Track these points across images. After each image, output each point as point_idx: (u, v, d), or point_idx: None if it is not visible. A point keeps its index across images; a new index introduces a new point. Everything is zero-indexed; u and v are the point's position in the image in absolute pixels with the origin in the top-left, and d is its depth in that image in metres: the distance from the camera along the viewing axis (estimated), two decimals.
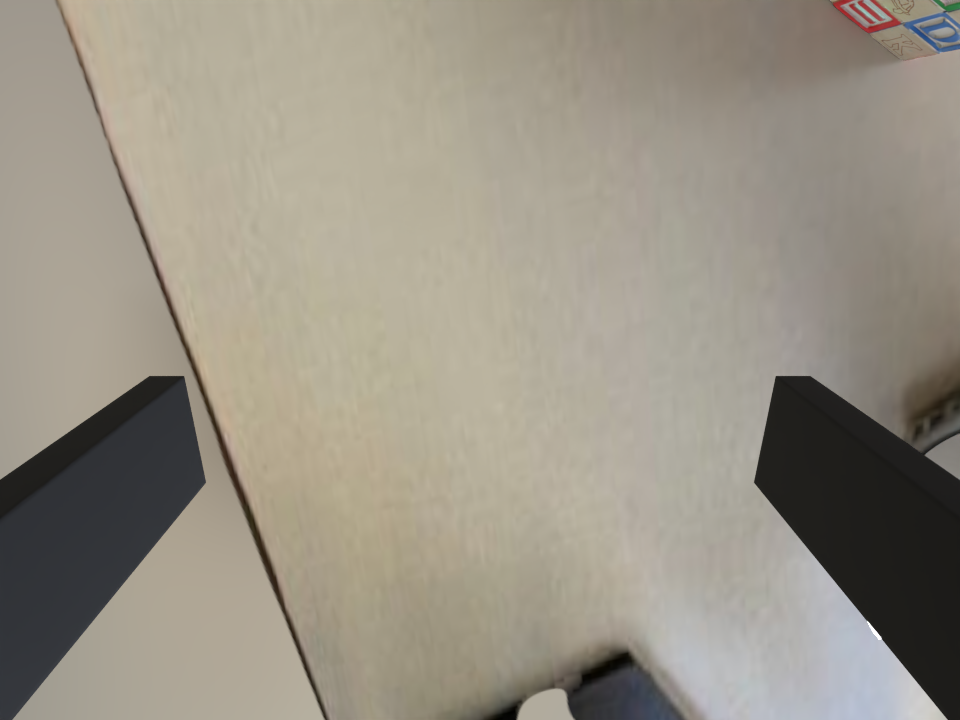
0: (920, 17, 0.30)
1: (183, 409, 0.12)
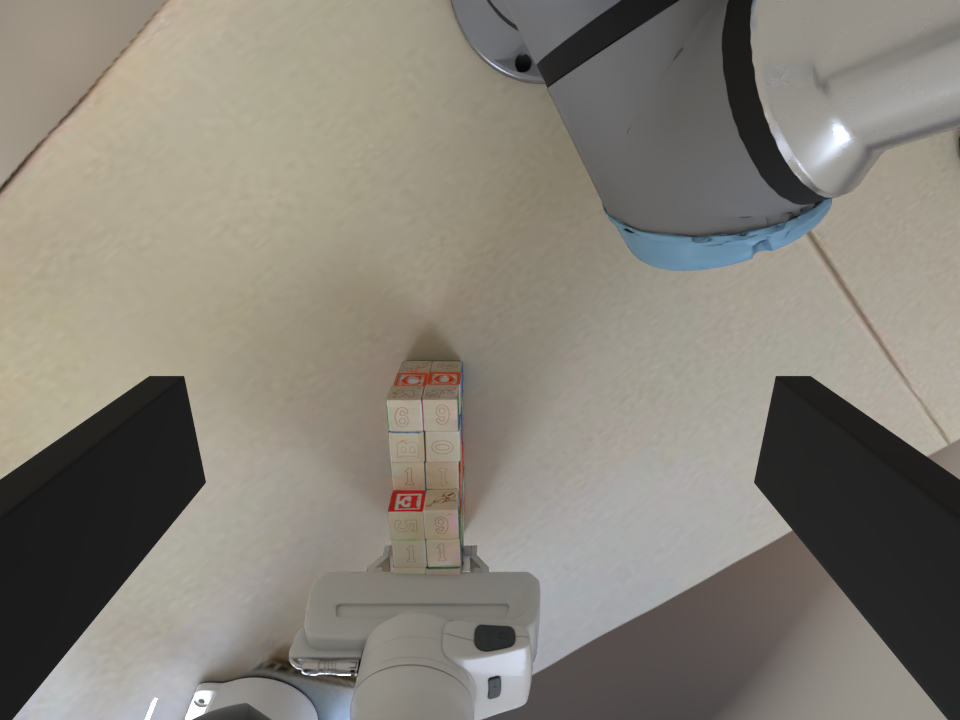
0: None
1: (183, 410, 0.12)
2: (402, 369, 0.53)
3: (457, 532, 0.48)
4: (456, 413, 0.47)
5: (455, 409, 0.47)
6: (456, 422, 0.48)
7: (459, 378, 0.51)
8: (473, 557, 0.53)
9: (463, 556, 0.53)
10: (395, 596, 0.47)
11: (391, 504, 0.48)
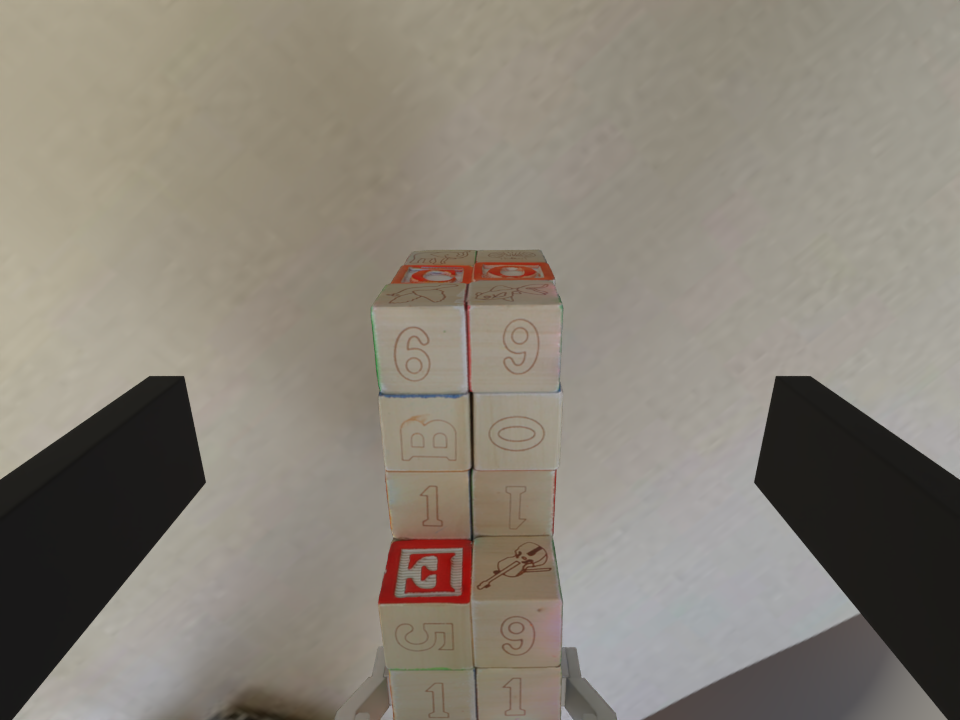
0: None
1: (183, 409, 0.12)
2: (412, 261, 0.24)
3: (557, 652, 0.19)
4: (558, 343, 0.18)
5: (556, 332, 0.18)
6: (556, 368, 0.18)
7: (548, 270, 0.21)
8: (574, 682, 0.24)
9: None
10: None
11: (387, 580, 0.19)
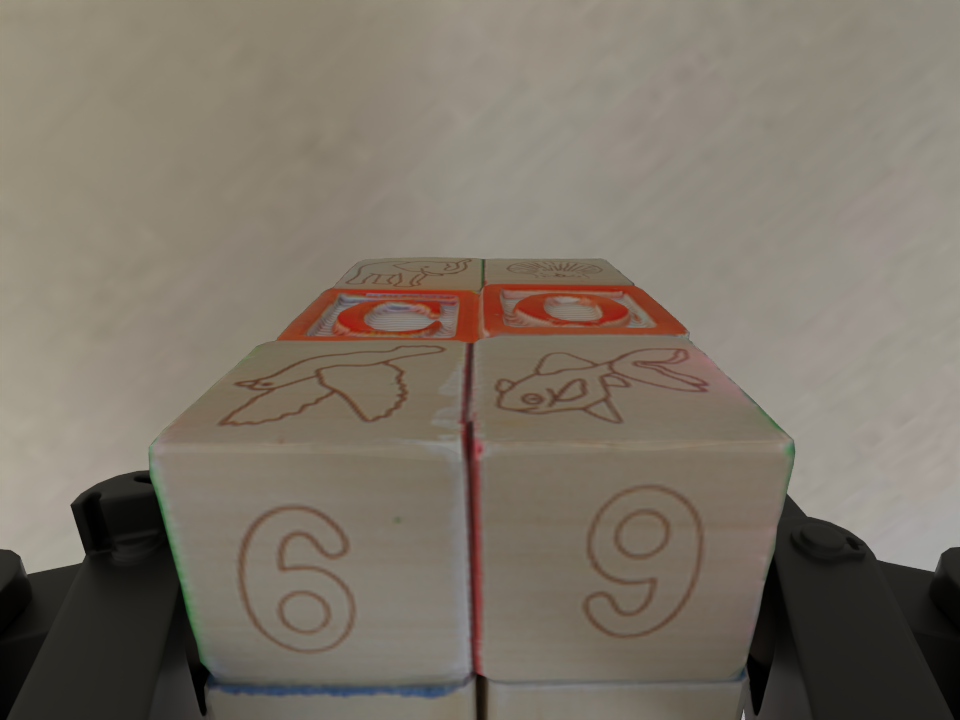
0: None
1: None
2: (353, 279, 0.12)
3: None
4: (762, 556, 0.06)
5: (761, 524, 0.05)
6: (746, 622, 0.06)
7: (656, 306, 0.09)
8: None
9: None
10: None
11: None
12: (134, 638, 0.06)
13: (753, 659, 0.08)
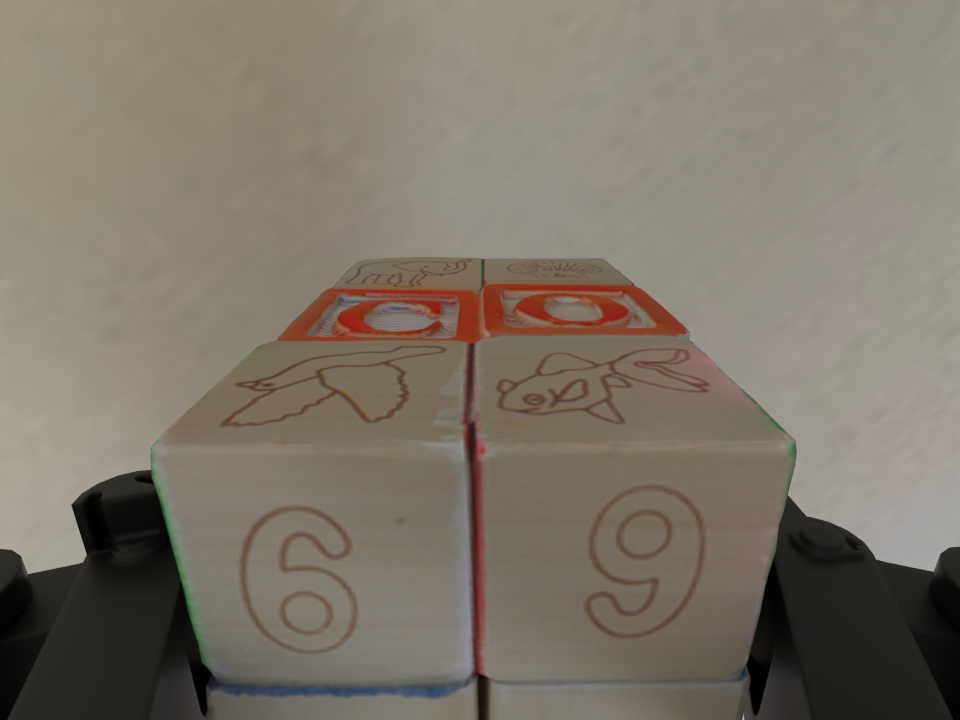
0: None
1: None
2: (352, 279, 0.12)
3: None
4: (763, 556, 0.06)
5: (762, 525, 0.05)
6: (748, 622, 0.06)
7: (656, 306, 0.09)
8: None
9: None
10: None
11: None
12: (135, 638, 0.06)
13: (752, 659, 0.08)
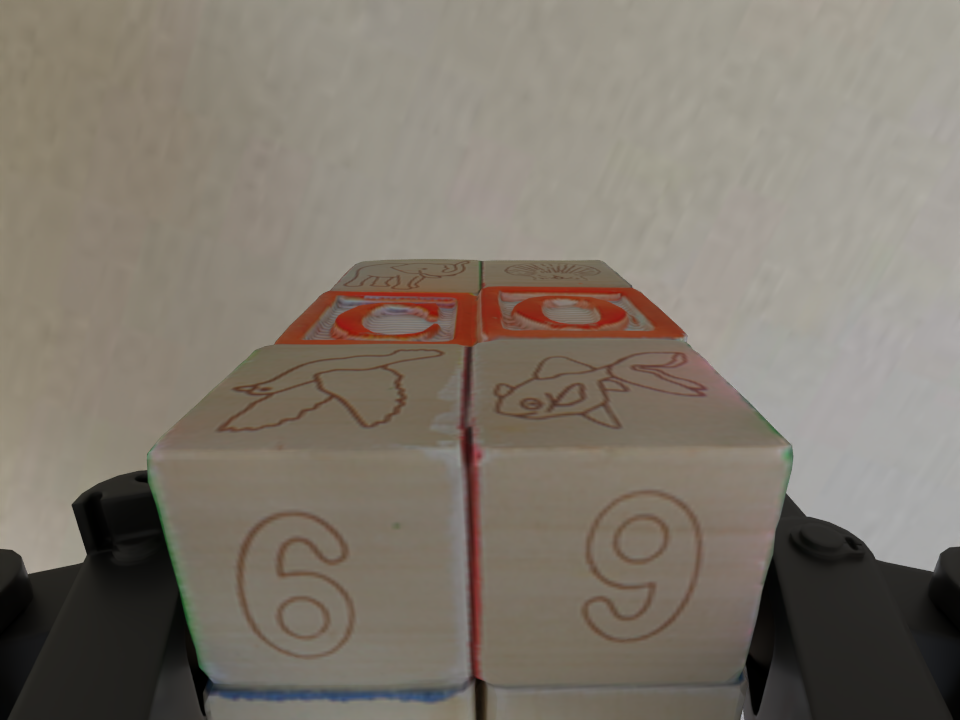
0: None
1: None
2: (350, 281, 0.12)
3: None
4: (760, 560, 0.06)
5: (759, 529, 0.05)
6: (745, 626, 0.06)
7: (654, 309, 0.09)
8: None
9: None
10: None
11: None
12: (135, 637, 0.06)
13: (752, 659, 0.08)
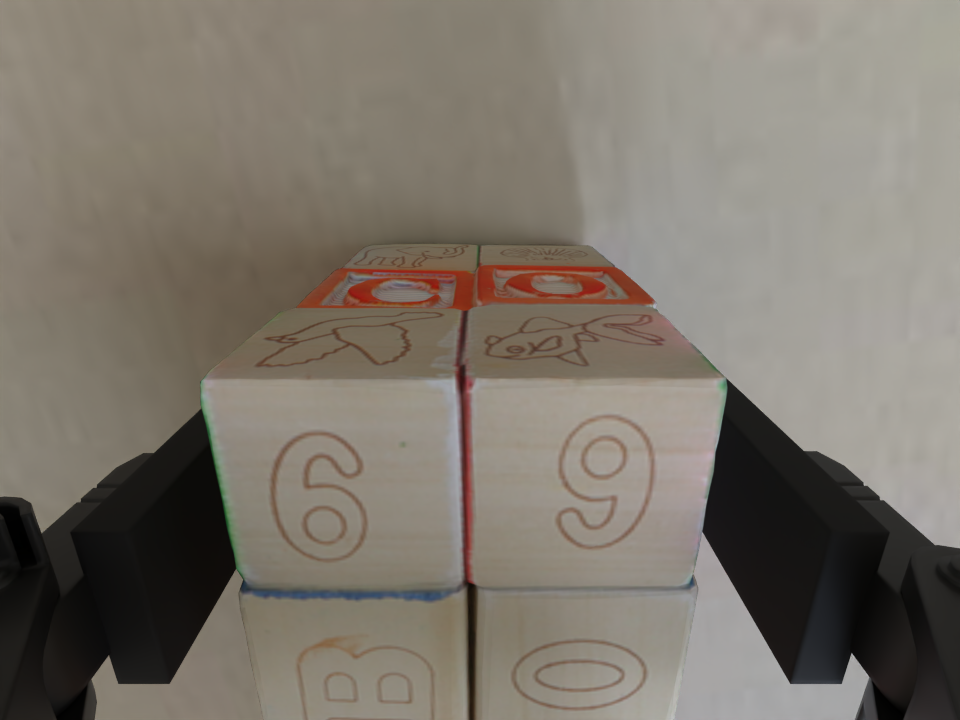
0: None
1: None
2: (360, 261, 0.13)
3: None
4: (703, 477, 0.07)
5: (701, 449, 0.07)
6: (692, 535, 0.07)
7: (631, 283, 0.10)
8: None
9: None
10: None
11: None
12: None
13: (882, 693, 0.07)
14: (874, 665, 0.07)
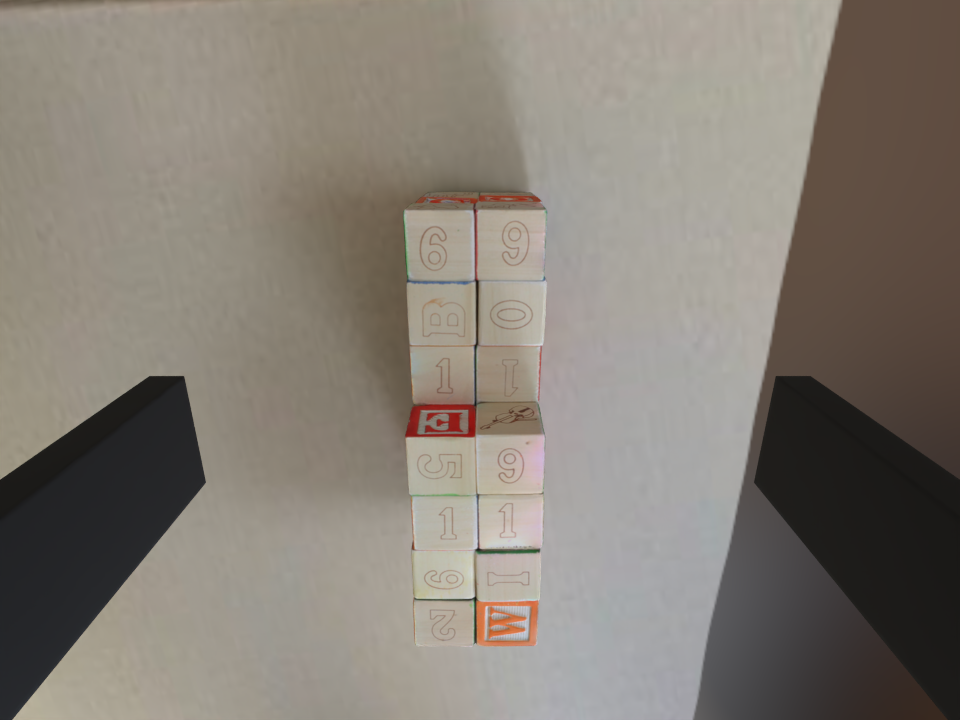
0: None
1: (183, 409, 0.12)
2: (428, 195, 0.30)
3: (541, 480, 0.25)
4: (543, 241, 0.24)
5: (541, 232, 0.24)
6: (542, 261, 0.24)
7: (537, 198, 0.27)
8: None
9: None
10: None
11: (411, 425, 0.25)
12: None
13: None
14: None
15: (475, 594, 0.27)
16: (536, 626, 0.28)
